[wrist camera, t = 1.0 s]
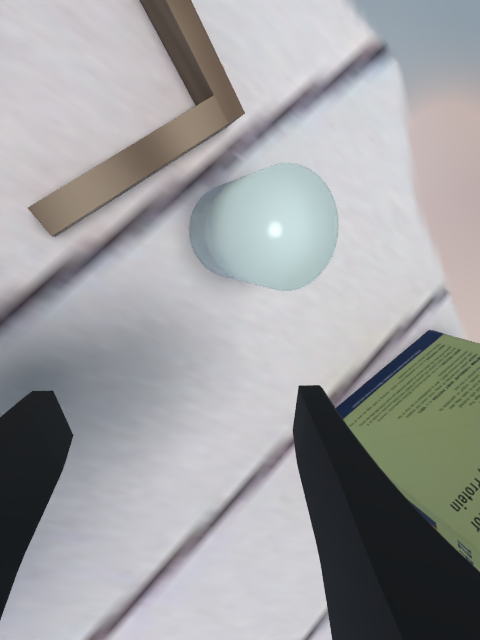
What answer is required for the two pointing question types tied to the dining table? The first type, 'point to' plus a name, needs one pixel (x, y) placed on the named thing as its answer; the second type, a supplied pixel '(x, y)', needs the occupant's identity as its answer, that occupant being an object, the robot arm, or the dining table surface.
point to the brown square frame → (169, 140)
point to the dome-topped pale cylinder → (267, 227)
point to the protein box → (428, 433)
